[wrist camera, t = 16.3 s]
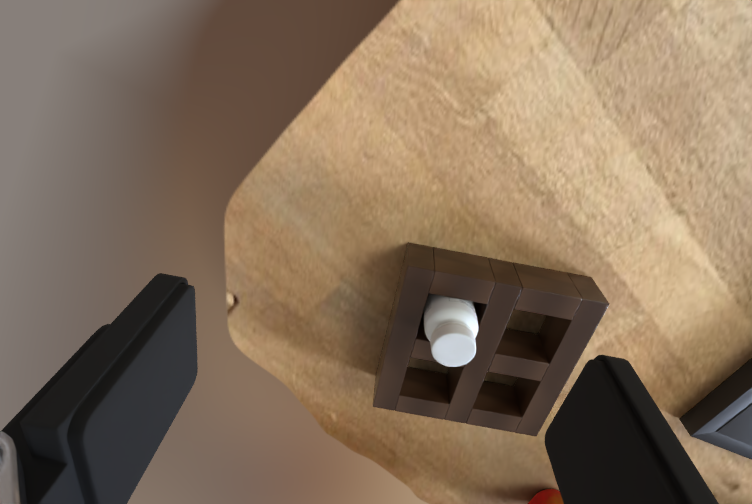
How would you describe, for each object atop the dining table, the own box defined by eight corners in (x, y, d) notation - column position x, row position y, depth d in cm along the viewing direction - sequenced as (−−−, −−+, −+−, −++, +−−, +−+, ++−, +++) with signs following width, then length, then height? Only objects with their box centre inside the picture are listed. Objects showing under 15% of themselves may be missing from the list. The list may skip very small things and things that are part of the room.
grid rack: (375, 376, 45) (372, 407, 42) (408, 242, 37) (407, 265, 34) (526, 404, 46) (536, 436, 42) (591, 277, 38) (609, 304, 34)
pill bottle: (434, 318, 41) (439, 378, 34) (414, 283, 39) (415, 339, 33) (478, 302, 40) (492, 361, 33) (459, 266, 38) (469, 320, 31)
